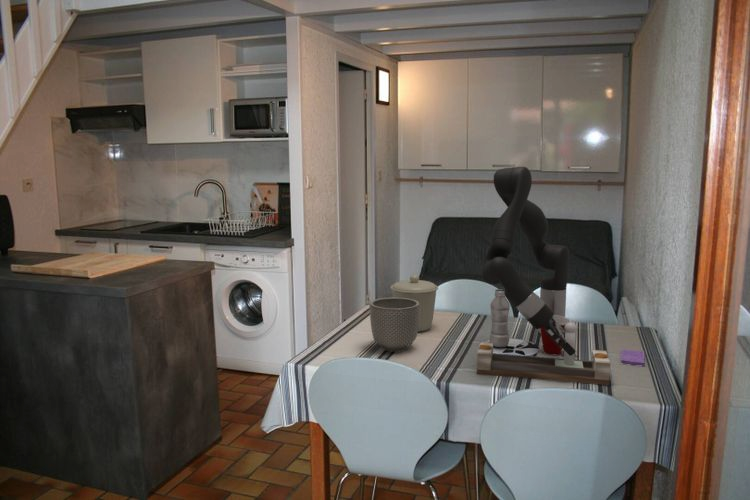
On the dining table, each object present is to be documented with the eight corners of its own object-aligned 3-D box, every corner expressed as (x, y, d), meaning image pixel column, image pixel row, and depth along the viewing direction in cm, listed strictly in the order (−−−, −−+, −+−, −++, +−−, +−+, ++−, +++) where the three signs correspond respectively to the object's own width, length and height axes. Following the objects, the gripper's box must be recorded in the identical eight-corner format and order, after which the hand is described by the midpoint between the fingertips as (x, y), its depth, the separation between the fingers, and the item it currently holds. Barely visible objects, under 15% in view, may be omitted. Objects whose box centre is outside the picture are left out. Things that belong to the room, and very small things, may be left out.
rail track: (480, 361, 199) (480, 340, 198) (604, 371, 190) (606, 349, 189) (476, 373, 188) (477, 351, 187) (609, 385, 178) (610, 361, 177)
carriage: (554, 364, 190) (556, 319, 188) (581, 366, 188) (584, 320, 186) (555, 371, 184) (557, 324, 182) (583, 374, 182) (585, 326, 180)
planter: (382, 338, 225) (382, 295, 222) (427, 344, 217) (427, 300, 215) (361, 351, 209) (360, 305, 207) (407, 358, 202) (408, 311, 199)
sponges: (620, 365, 196) (620, 359, 196) (621, 353, 208) (621, 348, 207) (644, 368, 194) (644, 362, 193) (643, 356, 205) (644, 350, 205)
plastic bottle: (509, 350, 210) (510, 292, 207) (489, 348, 212) (490, 292, 209) (508, 344, 217) (510, 288, 213) (489, 343, 218) (490, 288, 215)
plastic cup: (564, 359, 200) (566, 323, 198) (532, 354, 206) (533, 319, 204) (573, 350, 209) (575, 316, 208) (542, 345, 215) (543, 312, 213)
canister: (445, 326, 239) (446, 273, 236) (423, 338, 224) (424, 281, 221) (405, 320, 249) (405, 268, 246) (381, 330, 234) (381, 276, 231)
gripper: (544, 307, 178) (583, 348, 177) (543, 296, 192) (580, 334, 191) (524, 324, 181) (563, 364, 179) (525, 312, 194) (562, 350, 193)
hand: (572, 349), depth 185 cm, fingers open, 8 cm apart
